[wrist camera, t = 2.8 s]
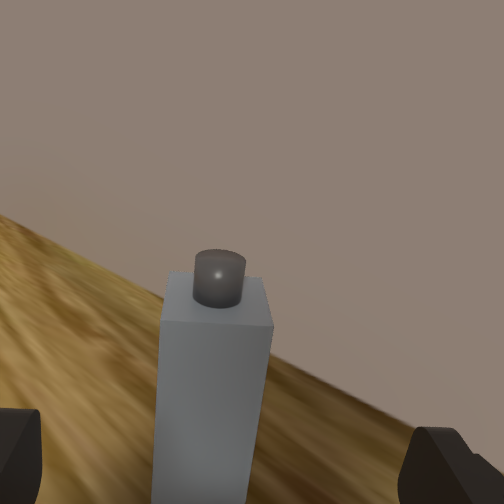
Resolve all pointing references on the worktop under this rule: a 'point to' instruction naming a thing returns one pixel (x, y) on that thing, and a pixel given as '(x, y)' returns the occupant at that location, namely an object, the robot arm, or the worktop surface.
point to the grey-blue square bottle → (209, 381)
